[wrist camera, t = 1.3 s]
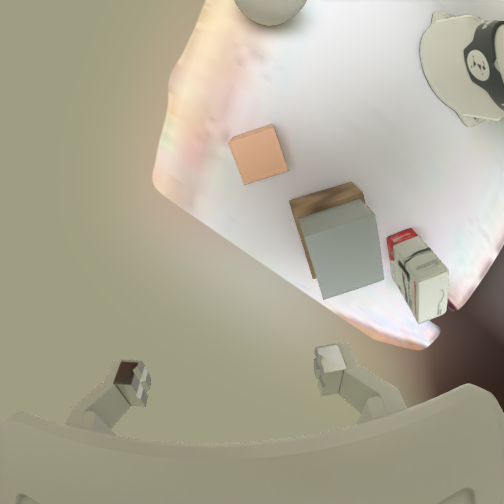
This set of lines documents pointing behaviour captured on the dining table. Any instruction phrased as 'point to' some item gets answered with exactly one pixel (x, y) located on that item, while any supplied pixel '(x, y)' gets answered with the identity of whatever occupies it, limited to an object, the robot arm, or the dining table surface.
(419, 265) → the ink box
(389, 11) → the dining table surface
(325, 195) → the walnut block
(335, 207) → the slate block
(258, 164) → the terracotta block
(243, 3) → the figurine
